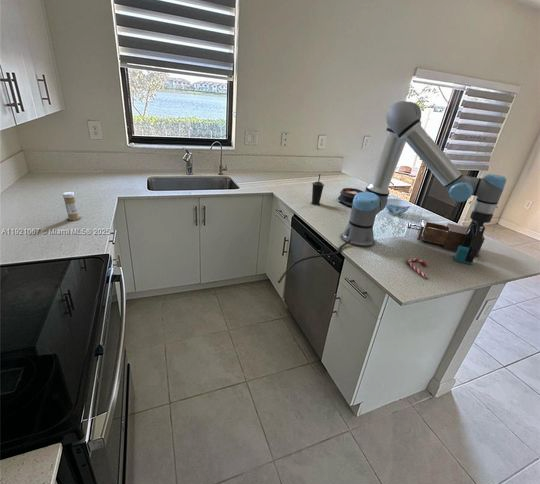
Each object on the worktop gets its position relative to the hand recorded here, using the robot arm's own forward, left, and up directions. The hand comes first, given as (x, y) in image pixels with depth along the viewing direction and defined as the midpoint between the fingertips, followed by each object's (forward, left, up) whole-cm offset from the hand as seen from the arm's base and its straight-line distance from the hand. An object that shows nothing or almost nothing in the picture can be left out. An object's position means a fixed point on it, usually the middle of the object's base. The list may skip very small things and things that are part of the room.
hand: (466, 255), depth 132 cm
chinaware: (+48, +34, -3) cm, 59 cm away
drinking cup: (+34, +83, -3) cm, 90 cm away
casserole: (+52, +63, -3) cm, 82 cm away
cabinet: (+15, +1, -3) cm, 16 cm away
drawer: (+15, +16, -2) cm, 23 cm away
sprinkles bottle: (-66, +177, -3) cm, 189 cm away
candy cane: (-20, +19, -3) cm, 27 cm away
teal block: (0, +1, -3) cm, 3 cm away
